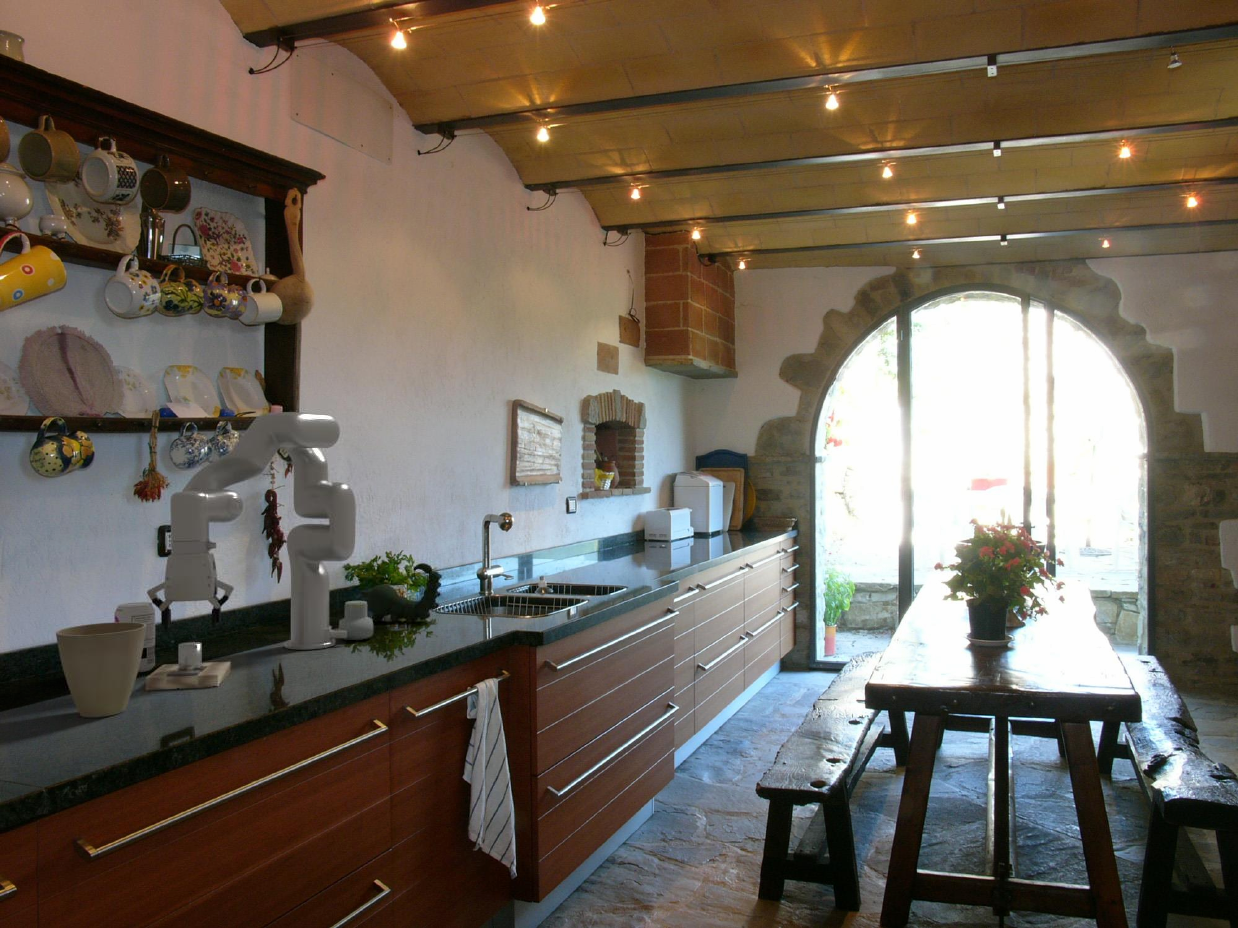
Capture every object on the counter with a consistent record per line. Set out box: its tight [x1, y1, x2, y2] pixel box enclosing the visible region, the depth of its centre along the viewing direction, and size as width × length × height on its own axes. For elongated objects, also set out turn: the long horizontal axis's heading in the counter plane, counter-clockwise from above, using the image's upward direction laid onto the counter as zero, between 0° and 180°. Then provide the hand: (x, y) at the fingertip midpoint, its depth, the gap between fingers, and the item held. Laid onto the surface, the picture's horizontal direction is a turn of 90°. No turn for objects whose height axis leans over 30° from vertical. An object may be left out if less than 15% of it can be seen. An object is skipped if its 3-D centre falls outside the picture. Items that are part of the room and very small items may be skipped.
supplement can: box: [114, 601, 156, 674], centre depth 215 cm, size 8×8×15 cm
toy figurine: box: [358, 562, 442, 624], centre depth 283 cm, size 9×19×25 cm
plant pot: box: [55, 621, 146, 718], centre depth 177 cm, size 15×15×16 cm
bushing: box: [177, 641, 203, 672], centre depth 203 cm, size 5×5×8 cm
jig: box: [145, 661, 232, 691], centre depth 203 cm, size 14×14×3 cm
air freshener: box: [338, 600, 374, 641], centre depth 254 cm, size 11×8×10 cm
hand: (191, 627), depth 204 cm, fingers open, 9 cm apart
